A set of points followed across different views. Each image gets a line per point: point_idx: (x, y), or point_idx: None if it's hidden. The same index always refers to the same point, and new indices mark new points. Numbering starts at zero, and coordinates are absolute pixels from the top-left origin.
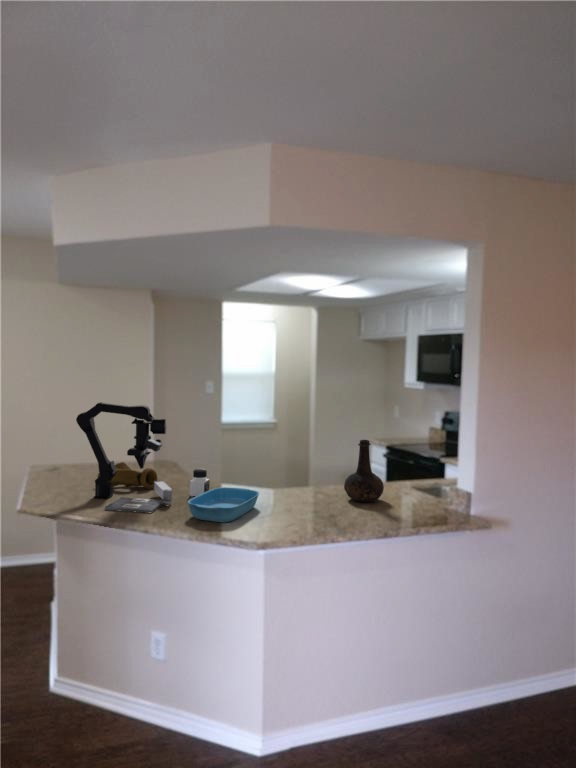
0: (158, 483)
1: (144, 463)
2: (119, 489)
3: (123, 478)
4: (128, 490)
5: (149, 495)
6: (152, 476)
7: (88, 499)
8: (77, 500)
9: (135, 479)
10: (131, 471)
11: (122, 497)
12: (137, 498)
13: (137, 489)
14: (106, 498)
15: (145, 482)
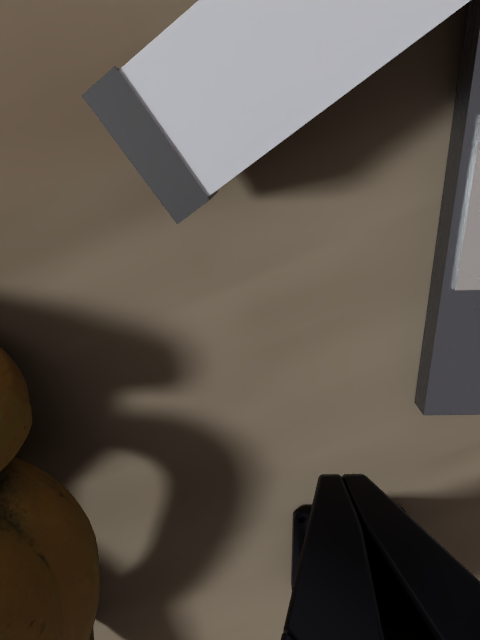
0: (281, 91)
1: (319, 552)
2: (107, 536)
3: (92, 597)
4: (108, 472)
5: (204, 245)
6: None
7: None
8: None
9: (36, 500)
10: (2, 619)
11: (429, 407)
12: (467, 266)
13: (48, 425)
14: (404, 510)
15: (10, 391)
